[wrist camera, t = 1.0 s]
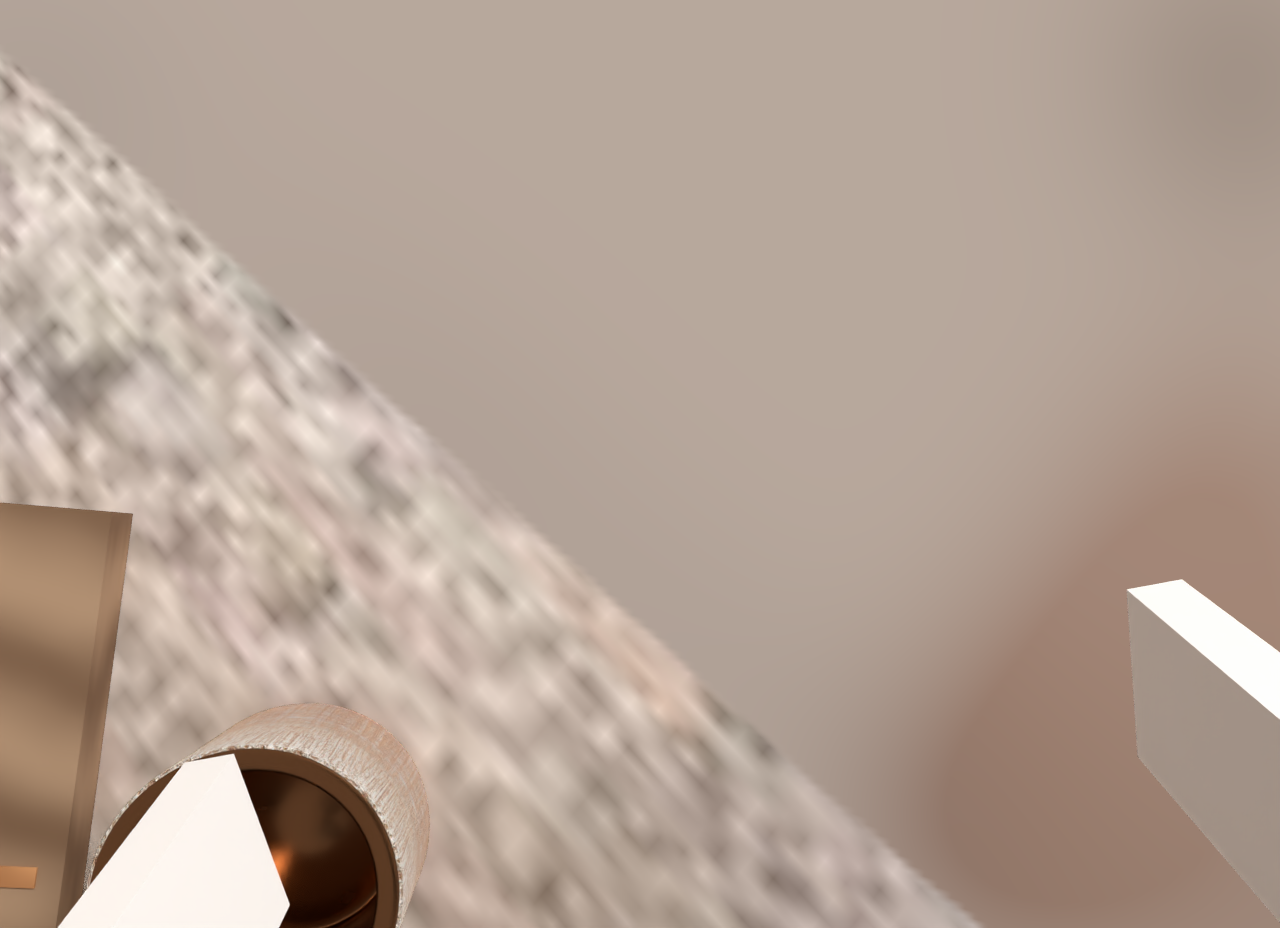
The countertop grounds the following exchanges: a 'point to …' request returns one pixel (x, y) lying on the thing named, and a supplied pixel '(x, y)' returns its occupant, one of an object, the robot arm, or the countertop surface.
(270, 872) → the robot arm
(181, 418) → the countertop surface
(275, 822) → the planter
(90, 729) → the fader board
